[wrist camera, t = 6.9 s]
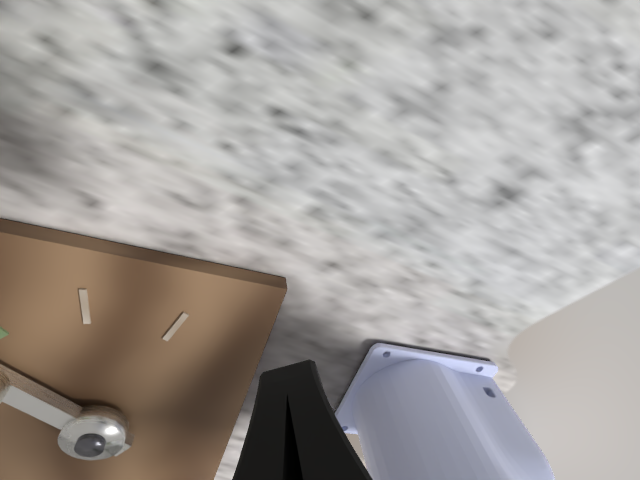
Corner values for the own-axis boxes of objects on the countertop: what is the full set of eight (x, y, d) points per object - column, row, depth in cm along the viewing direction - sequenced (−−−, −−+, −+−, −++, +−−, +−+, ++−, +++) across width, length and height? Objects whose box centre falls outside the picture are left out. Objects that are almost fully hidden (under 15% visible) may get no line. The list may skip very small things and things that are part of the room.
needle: (147, 426, 22) (122, 527, 18) (107, 453, 23) (73, 556, 18) (-61, 311, 17) (-173, 415, 12) (-107, 349, 17) (-229, 462, 13)
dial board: (285, 277, 20) (287, 290, 19) (209, 479, 28) (207, 495, 27) (-109, 195, 15) (-132, 207, 14) (-73, 467, 23) (-87, 486, 22)
